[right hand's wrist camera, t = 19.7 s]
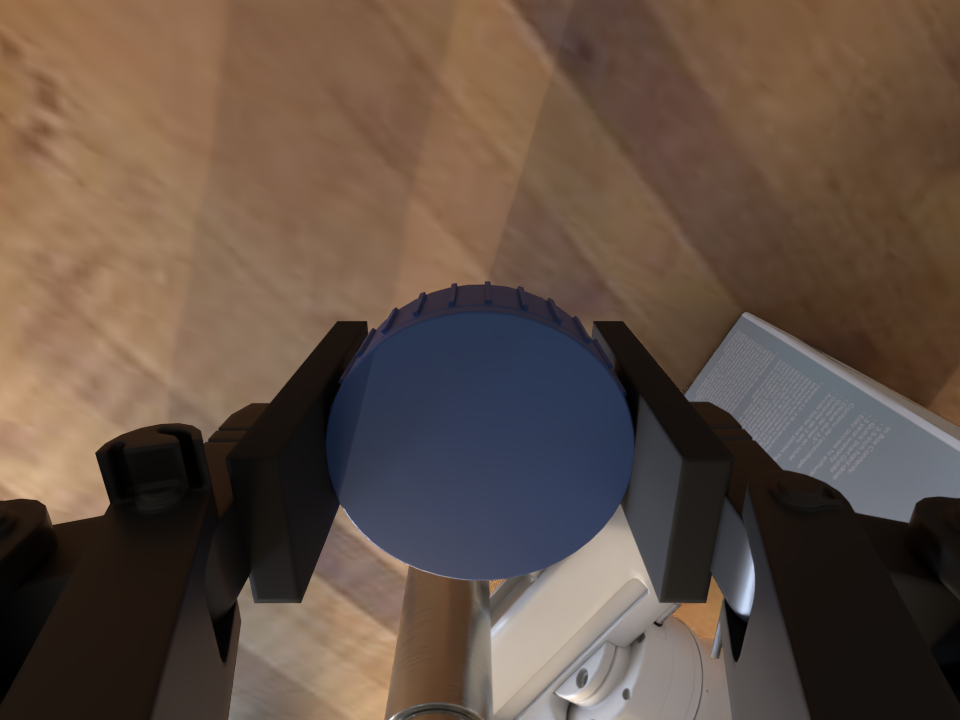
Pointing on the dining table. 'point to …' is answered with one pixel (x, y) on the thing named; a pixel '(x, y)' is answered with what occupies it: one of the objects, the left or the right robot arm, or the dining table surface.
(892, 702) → the right robot arm
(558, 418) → the lid
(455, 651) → the jar
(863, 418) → the hard drive box
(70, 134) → the dining table surface
